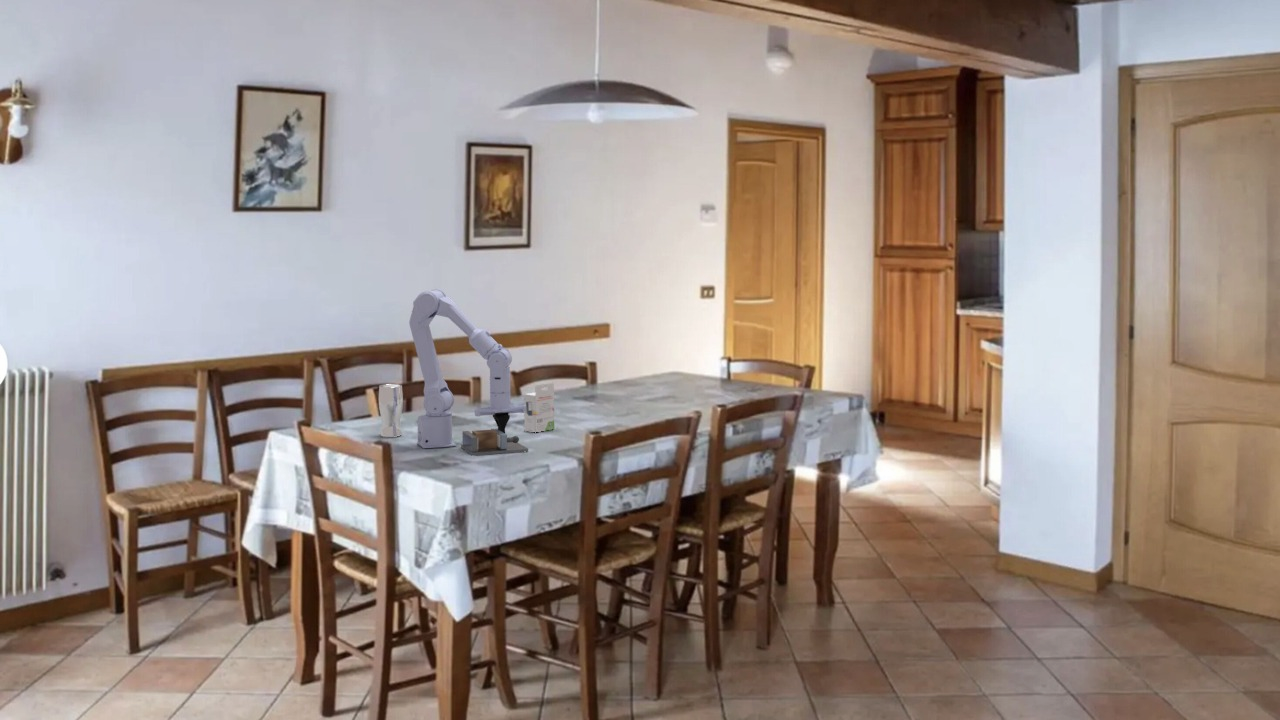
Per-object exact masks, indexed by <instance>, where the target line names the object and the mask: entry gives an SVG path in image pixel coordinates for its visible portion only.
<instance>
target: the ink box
mask: <svg viewBox="0 0 1280 720" xmlns="http://www.w3.org/2000/svg"><path fill="white" fill-rule="evenodd" d="M534 388H535V389H534V390H535V392H534V391H533V392H529V393H524V394H523V395H524V396H523V397H524V400H523V402H524V404H523V405H525V406H526V413H523V415H524V432H526V431H529V432H528V433H531V432H535V433H534V434H537V433H536V432H539V433H542V432H541V431H544V432H547V431H546V430H549V431H553V430H552V429H554V430H555V390H554V389H555V387H554V383H553V382H549V383H548V382H547V383H542V384H536V385H535V387H534ZM543 388H547V389H543Z"/></svg>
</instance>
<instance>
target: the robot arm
mask: <svg viewBox="0 0 1280 720" xmlns="http://www.w3.org/2000/svg"><path fill="white" fill-rule="evenodd" d="M436 316H439V317H445V318H448V319H449V320H450V321H451V322H452V323H453V324H454V325H456V326H457V327H458V329H460V330H461V331H462V332H463V333H464V334H466V336H467V337H468V343H469V345H470V346H471V347H472V348H473V349H474V350H475V351H476V352H477V353H478V354H479V356H481V357H482V358H483V359H484V360H486V365H487V367H488V369H489V401H490V402H489V403H490V405H489V406H486V407H479V408H474V416H476V417H481V416H492V417H493V419H494V421H495V424H496V426H497V429H498V430H500V431H502V432H503V433H505V434H506V427H507V425H508V423H509V420H510V417H511V415H510V414H522V413H523V414H524V413H526V406H525V405H524V404H522V405H521V404H518V405H516V404H515V405H514V404H512V403H511V401H512V399H511V372H510V371H511V370H510V368H511V367H510V365H511V364H512V361H513V356H512V354H511V352H510V351H509V349H507V348H505V347H503V345H502V344H501V343H498V342H497V341H496V340H495V339H494V338H493V336H491V334H492V333H491V331H489V330H485V329H484V328H478V327H476V326H475V324H474V323H473V322H472V321H471V319H469V317H468V316H466V315H465V313H464V312H463V311H462V310H461V309H460V308H459V306H458V305H457V304H456V303H455V301H453V300H452V298H450V297H449V296H447V295H446V294H445V292H444V291H443V290H441V289H437V288H435V289H431V290H426V291H425V290H424V291H422V292H421V293H419V294H418V295H417V296H416V298H415V299H414V300H413V305H412V310H411V314H410V318H409V327H410V331H411V334H412V335H411V336H412V339H413V342H414V347H415V351H416V355H417V358H418V361H419V366H420V369H421V374H422V377H423V381H424V387H423V395H424V399H423V408H424V410H425V414H422V415H418V417H417V441H416V443H417V444H418V445H419V446H420V447H421V448H422V449H432V448H448V447H449V448H450V447H456V446H457V444H456V443H455V442H454V441H453V416H452V415H453V412H452V410H451V408H452V407H453V406H454V403H455V397H454V395H453V393H452V391H451V390H450V389H449V387H448V383H447V382H446V381H445V379H444V378H443V374H442V370H441V366H440V363H439V359H438V354H437V350H436V347H435V343H434V340H433V339H434V338H433V336H432V331H431V327H430V324H431V322H432V321H433V319H434V318H435V317H436Z"/></svg>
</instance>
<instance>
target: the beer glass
mask: <svg viewBox="0 0 1280 720" xmlns="http://www.w3.org/2000/svg"><path fill="white" fill-rule="evenodd" d="M378 388H379V389H378V407H379V409H378V410H379V413H380V420H381V431H380V437H381V436H383V437H382V438H386V437H394V438H398V437H397V436H400V435H401V436H402V428H401V418H402V413H403V412H402V411H403V406H404V405H403V404H404V397H403V396H404V393H403V385H402V384H397V383H386V384H385V383H384V384H380V385H379V386H378ZM401 436H400V437H401Z"/></svg>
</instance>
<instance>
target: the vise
mask: <svg viewBox="0 0 1280 720" xmlns="http://www.w3.org/2000/svg"><path fill="white" fill-rule="evenodd" d="M461 447H462V448H461ZM460 448H461V449H462V450H464V451H465V450H466V451H465V452H467V454H469V453H470V454H469V455H471V456H472V455H476V456H485V455H487V456H488V455H501V454H502V453H504V454H513V453H512V452H518V453H525V452H524V451H528V452H529V448H528V447H526V446H525V445H522V444H521V443H519V441H518V442H517V443H513V442H508V443H507V449H500V448H499V447H497V448H490V449H478V437H476V436H475V435H473V434H472V432H470V431H469V430H462V444H460Z"/></svg>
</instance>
